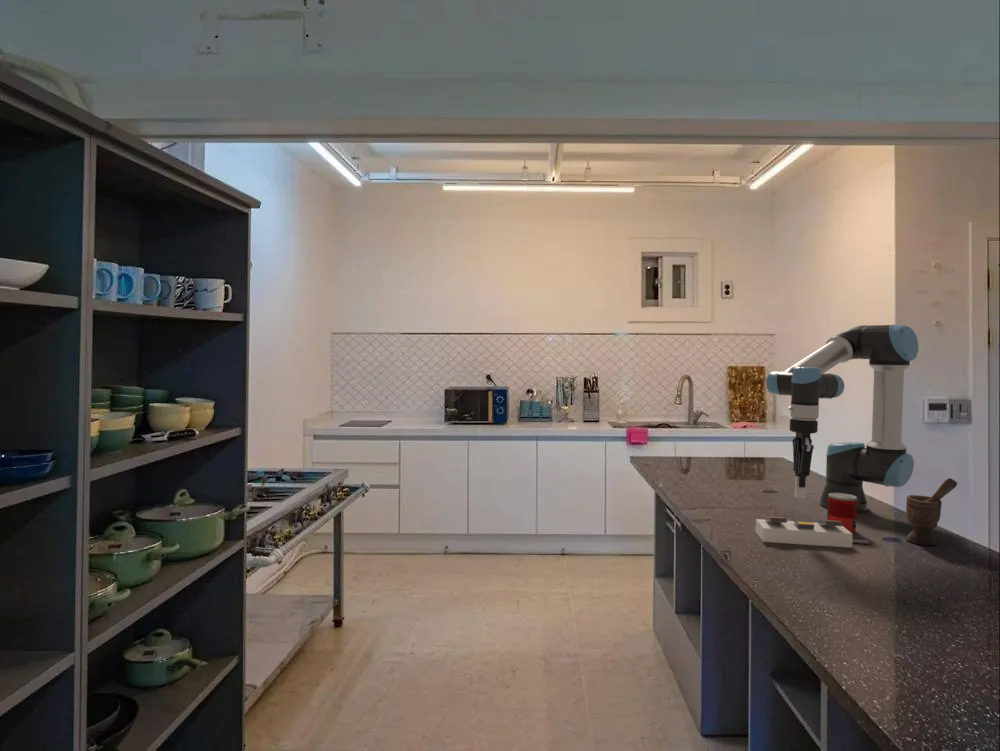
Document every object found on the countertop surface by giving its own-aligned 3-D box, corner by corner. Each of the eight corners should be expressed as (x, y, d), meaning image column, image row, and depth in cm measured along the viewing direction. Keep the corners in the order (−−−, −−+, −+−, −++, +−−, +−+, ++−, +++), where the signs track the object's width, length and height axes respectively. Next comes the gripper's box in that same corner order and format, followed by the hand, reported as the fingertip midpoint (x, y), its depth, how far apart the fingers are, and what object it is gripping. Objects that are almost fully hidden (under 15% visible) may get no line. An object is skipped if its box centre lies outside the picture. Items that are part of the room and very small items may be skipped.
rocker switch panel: (861, 538, 190) (862, 525, 189) (874, 549, 180) (875, 535, 180) (755, 531, 195) (755, 518, 195) (762, 541, 185) (763, 528, 185)
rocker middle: (807, 517, 191) (807, 513, 190) (813, 529, 184) (814, 525, 184) (791, 517, 192) (791, 512, 191) (797, 528, 185) (798, 524, 185)
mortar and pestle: (945, 540, 189) (948, 474, 188) (956, 549, 181) (960, 480, 180) (900, 536, 192) (904, 471, 191) (909, 545, 184) (913, 477, 183)
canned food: (859, 534, 194) (861, 499, 193) (831, 533, 195) (832, 497, 195) (850, 527, 201) (852, 493, 200) (823, 526, 203) (825, 491, 202)
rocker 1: (780, 521, 192) (780, 516, 192) (786, 522, 185) (786, 518, 185) (765, 520, 193) (765, 515, 193) (770, 521, 186) (770, 517, 186)
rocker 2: (834, 524, 189) (833, 520, 189) (842, 526, 182) (842, 521, 183) (818, 523, 190) (818, 519, 190) (825, 525, 183) (825, 520, 183)
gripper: (784, 416, 196) (781, 491, 197) (796, 420, 183) (792, 501, 184) (810, 417, 195) (806, 493, 196) (824, 421, 182) (820, 503, 183)
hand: (800, 497), depth 190 cm, fingers closed
